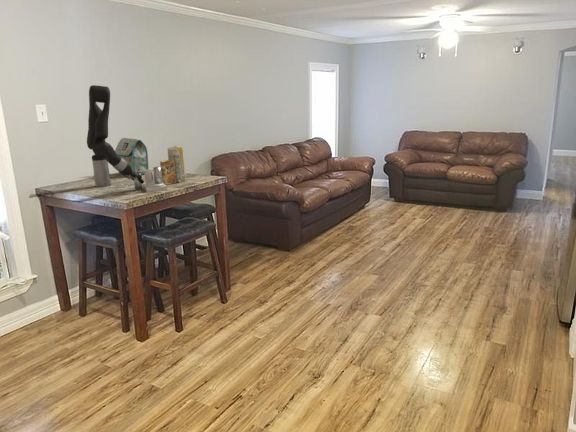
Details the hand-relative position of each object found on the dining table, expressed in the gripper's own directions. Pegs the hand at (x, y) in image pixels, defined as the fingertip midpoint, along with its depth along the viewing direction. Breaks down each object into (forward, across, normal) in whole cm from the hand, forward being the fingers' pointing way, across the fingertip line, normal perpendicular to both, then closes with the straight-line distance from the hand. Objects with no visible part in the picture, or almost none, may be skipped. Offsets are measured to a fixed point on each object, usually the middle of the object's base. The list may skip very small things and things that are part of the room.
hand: (140, 182), depth 280 cm
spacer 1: (+2, 0, +4) cm, 5 cm away
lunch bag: (+29, +53, -23) cm, 64 cm away
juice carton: (+24, -3, -17) cm, 29 cm away
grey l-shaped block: (+6, -8, 0) cm, 10 cm away
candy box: (+18, -4, -11) cm, 21 cm away
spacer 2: (+5, -10, -4) cm, 11 cm away
